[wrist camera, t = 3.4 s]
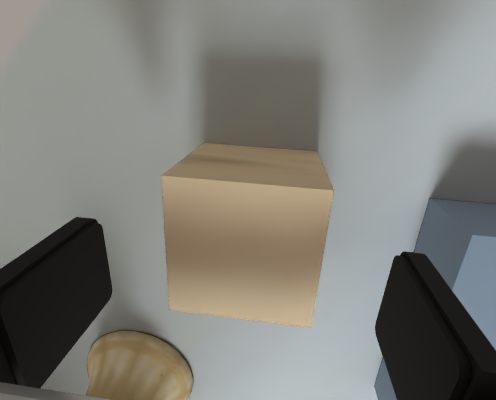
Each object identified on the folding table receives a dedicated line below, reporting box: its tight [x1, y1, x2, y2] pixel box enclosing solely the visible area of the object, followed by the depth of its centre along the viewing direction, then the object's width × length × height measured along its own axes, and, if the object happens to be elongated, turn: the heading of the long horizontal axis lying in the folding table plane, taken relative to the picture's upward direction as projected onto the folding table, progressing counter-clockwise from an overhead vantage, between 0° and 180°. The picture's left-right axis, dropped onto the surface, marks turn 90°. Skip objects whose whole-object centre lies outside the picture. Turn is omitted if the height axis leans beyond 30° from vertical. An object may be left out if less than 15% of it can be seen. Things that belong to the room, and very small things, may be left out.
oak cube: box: [161, 143, 334, 328], centre depth 14 cm, size 6×6×6 cm
